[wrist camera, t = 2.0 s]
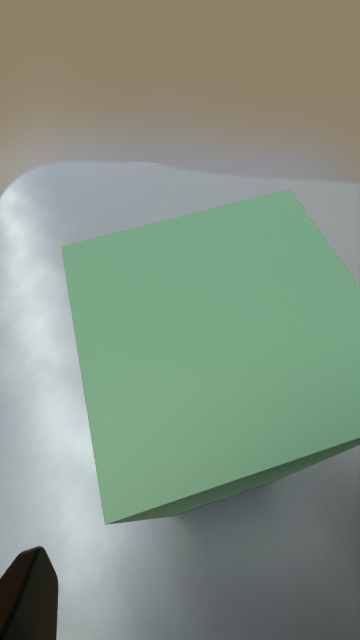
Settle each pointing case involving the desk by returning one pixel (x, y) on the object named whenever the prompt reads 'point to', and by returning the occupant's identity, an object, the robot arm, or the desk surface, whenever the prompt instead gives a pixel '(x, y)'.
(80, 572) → the desk surface
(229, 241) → the tall green square pillar
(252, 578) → the desk surface
